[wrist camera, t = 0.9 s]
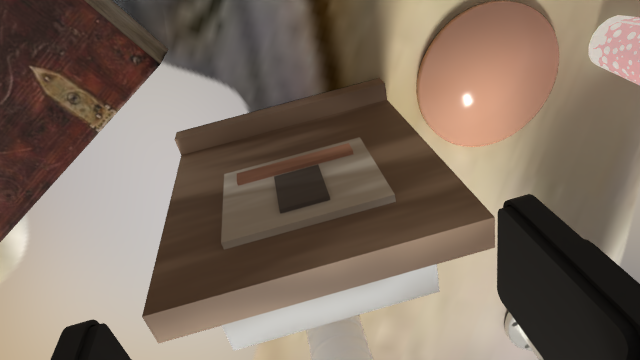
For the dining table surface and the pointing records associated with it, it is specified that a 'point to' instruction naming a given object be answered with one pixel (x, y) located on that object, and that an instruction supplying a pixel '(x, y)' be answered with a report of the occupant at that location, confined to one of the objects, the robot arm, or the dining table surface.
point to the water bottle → (339, 341)
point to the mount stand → (306, 219)
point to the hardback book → (61, 88)
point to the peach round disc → (487, 73)
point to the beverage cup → (618, 47)
